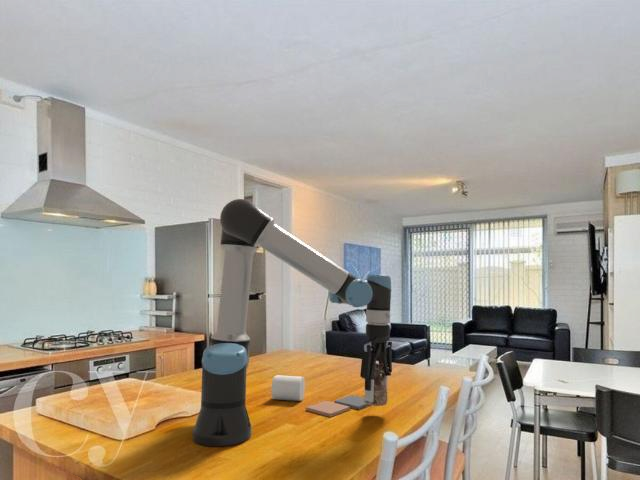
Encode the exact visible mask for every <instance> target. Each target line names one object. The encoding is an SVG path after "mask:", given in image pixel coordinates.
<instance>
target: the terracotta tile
mask: <svg viewBox="0 0 640 480" xmlns="http://www.w3.org/2000/svg"><path fill="white" fill-rule="evenodd" d="M305 410H306V411H307V412H311V413H314V414H318V415H321V416H324V417H329V418H331V417H334V416H338V415H340V414H342V413H345V412H348V411H350V410H351V408H350V407H349V406H345V405H341V404H337V403H334V401H333V402H332V401H328V400H324V401H320V402H318V403H315V404H312V405H308V406H306V407H305Z"/></svg>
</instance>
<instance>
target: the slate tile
mask: <svg viewBox="0 0 640 480" xmlns="http://www.w3.org/2000/svg"><path fill="white" fill-rule="evenodd" d="M333 403H337V404H341V405H345V406H349V407H350V409H354V410H358V411H360V410H361V409H362V410H363V409H364V408H366V407H367V408H368V407H370V406H371V405H368V404H366V403H364V397H362V396H359V395H354V394H351V395H347V396H344V397H342V398H339V399H335V400H334V401H333Z"/></svg>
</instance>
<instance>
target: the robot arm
mask: <svg viewBox="0 0 640 480" xmlns="http://www.w3.org/2000/svg"><path fill="white" fill-rule="evenodd" d="M219 217H220V219H219V221H220V222H219V223H220V225H221V236H220V247H221V248H222V250H223V251H224V257H223V267H222V268H223V269H222V278H221V286H220V297H219V306H218V314H217V315H218V317H217V325H216V331H215V332H214V333H212V335H210V342H209V345H208V346H207V347H206V348H205V349H204V350H203V353H202V358H201V367H202V368H201V369H202V370H201V371H202V372H201V395H200V396H201V397H200V399H201V400H200V410H199V411H198V415H197V417H196V422H195V425H194V426H193V431H192V440H193V441H194V442H195V443H197V444H198V445H203V446H207V447H227V446H234V445H239V444H240V443H244V442H245V441H248V440H249V439H250V438H251V436H252V424H251V422H250V416H249V413H248V411H247V406H246V396H247V394H246V393H247V391H246V390H247V372H248V366H249V363H250V361H249V360H250V357H249V353H250V345H251V344H250V343H251V338H250V336H249V335H248V334H247V333H246V332H247V320H248V311H249V299H250V291H251V290H250V289H251V281H252V280H251V279H252V268H253V260H254V259H253V258H254V254H255V253H257V252H258V250H259V248H262V249H264V250H265V251H267V252H268V253H269V254H271V255H273V256H274V257H276V258H277V259H279V260H281V261H282V262H283V263H286V264H287V265H288V266H290V267H292V268H293V269H295V270H297V271H298V272H299V273H301V274H303V276H306V277H307V278H309V279H310V280H312V281H314V282H315V283H316V284H317V285H320V286H321V287H323V288H324V289H325V290H328V297H329V302H330V303H331V304H338V305H340V304H344V305H345V304H346V305H349V306H352V307H353V308H362V307H366V311H365V312H366V314H365V322H366V324H365V335H366V336H367V337H368V340H367V343H362V344H361V349H362V350H361V351H362V356H361V362H360V363H361V365H360V375H359V376H360V378H362V379H364V396H365V401H369V402H373V400H374V380H373V379H372V378H373V373H374V369H375V364H376V363H377V361H378V364H379V365H380V364H381V363H383V364H384V366H383V367H382V369H383V370H384V372H385V378H384V381H385V384H386V388H387V389H388V379H389V378H388V376H389V377H390V376H392V372H393V363H392V362H393V360H392V359H393V358H392V347H393V342H392V341H391V340H387V338H389V337H390V336H391V325H389V324H390V323H391V303H392V302H391V300H392V279H391V277H390V275H388V274H377V273H376V274H368V275H367V278H366V279H364V280H363V279H360V278H359V277H357V276H355V275H353V274H352V273H350V272H349V271H347V270H346V269H345V268H343V267H342V266H340V265H339V264H337V263H336V262H334V261H332V260H331V259H330V258H328V257H327V256H325V255H323V254H322V253H320V252H319V251H317V250H316V249H314V248H313V247H311V246H309V245H308V244H306V243H305V242H303V241H302V240H300V239H299V238H298V237H296V236H295V235H293V234H291V233H289V232H288V231H287V230H285V229H284V228H282V227H280V226H279V225H277V224H276V223H275V218H274V217H272V216H270V215H269V214H267V213H266V212H264V211H263V210H262V209H261V208H260V207H258V206H257V205H256V204H255V203H253V202H252V201H250V200H248V199H244V198H237V199H233V200H231V201H229V202H228V203H226V204H225V205H224V207H223V208H222V210H221V212H220V216H219ZM377 359H378V360H377ZM381 376H382V373H381V374H380V377H381Z"/></svg>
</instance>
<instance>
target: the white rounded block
mask: <svg viewBox="0 0 640 480" xmlns="http://www.w3.org/2000/svg"><path fill="white" fill-rule="evenodd" d="M305 389H306V381H305V378H304V376H297V375H296V376H295V375H294V376H293V375H278V374H277V375H274V377H273V378H272V382H271V389H270V391H271V397H272V399H273V400H280V401H281V400H282V401H293V402H301V401H303V400H304V396H305Z"/></svg>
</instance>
